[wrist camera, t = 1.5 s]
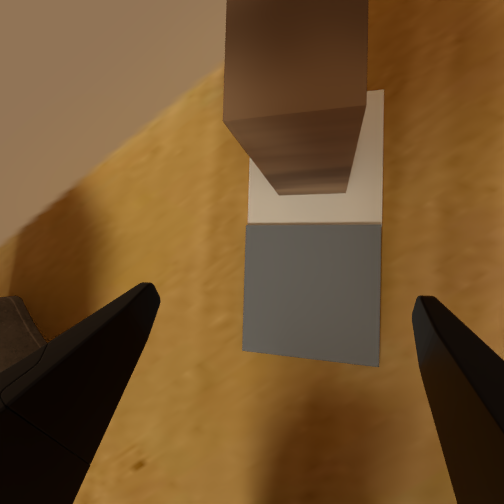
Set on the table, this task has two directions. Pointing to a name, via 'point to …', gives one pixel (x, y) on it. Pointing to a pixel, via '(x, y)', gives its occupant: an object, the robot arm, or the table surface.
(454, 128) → the table surface
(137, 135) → the table surface
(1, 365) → the flask
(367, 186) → the tile
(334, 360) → the mat
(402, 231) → the table surface
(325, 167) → the walnut pillar
